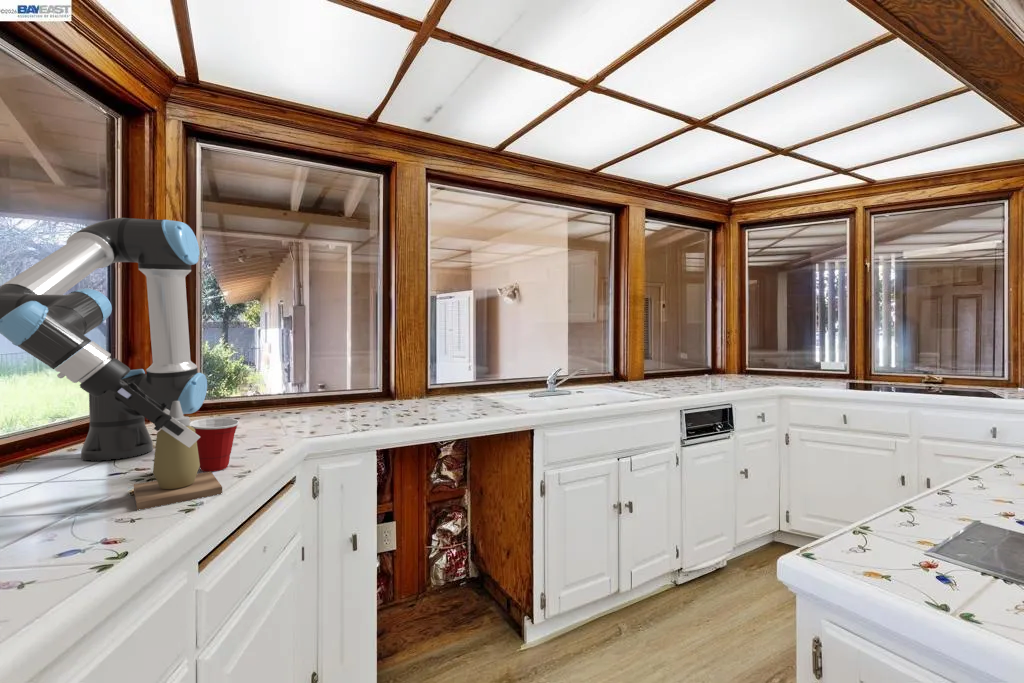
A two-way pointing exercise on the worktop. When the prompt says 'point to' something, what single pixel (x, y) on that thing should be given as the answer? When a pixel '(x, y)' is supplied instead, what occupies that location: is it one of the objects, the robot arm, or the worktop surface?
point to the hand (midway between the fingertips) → (190, 436)
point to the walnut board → (175, 491)
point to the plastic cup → (214, 442)
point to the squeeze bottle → (175, 456)
